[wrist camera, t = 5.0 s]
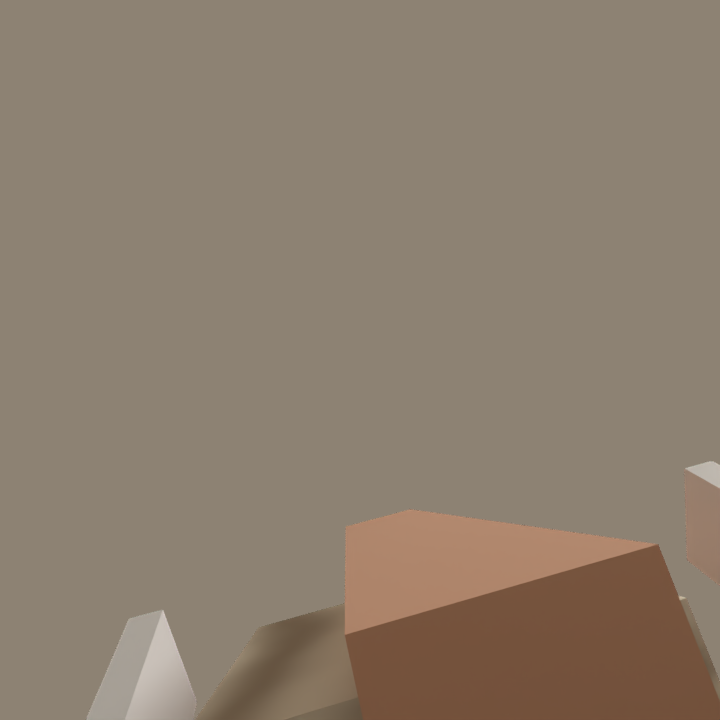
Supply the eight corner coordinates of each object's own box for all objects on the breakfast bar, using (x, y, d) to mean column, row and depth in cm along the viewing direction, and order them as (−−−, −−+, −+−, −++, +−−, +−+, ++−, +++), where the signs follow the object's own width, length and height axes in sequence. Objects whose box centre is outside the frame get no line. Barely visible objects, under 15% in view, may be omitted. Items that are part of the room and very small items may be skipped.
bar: (444, 1092, 5) (344, 634, 6) (362, 598, 28) (345, 526, 29) (818, 949, 5) (658, 543, 6) (429, 579, 28) (410, 509, 29)
